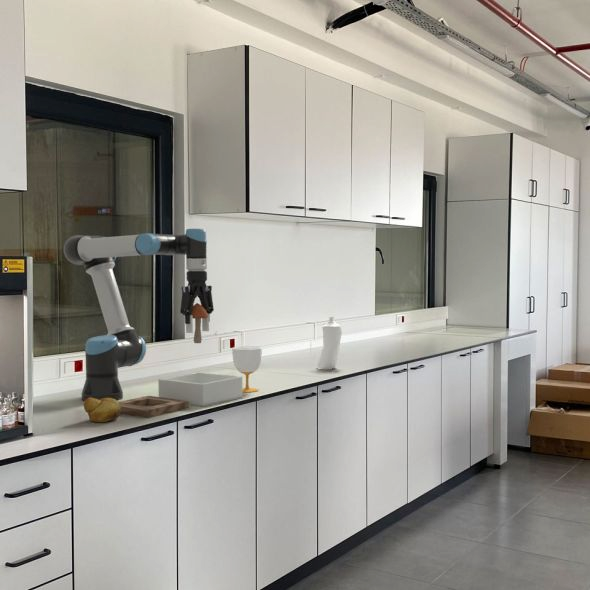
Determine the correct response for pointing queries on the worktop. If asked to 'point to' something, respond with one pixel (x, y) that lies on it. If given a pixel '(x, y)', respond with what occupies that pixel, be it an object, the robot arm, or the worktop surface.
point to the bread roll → (102, 409)
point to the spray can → (330, 345)
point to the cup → (247, 362)
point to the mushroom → (198, 320)
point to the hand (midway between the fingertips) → (197, 331)
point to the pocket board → (156, 403)
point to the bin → (201, 388)
